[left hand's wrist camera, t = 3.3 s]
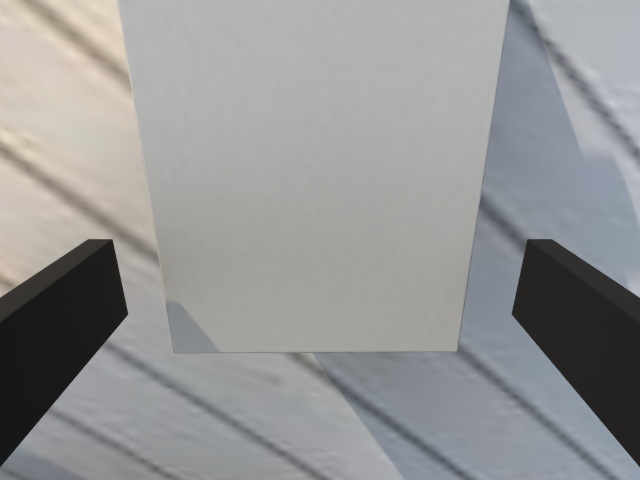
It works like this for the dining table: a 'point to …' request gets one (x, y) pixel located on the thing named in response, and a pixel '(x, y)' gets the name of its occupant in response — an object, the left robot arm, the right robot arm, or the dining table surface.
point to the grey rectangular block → (314, 166)
